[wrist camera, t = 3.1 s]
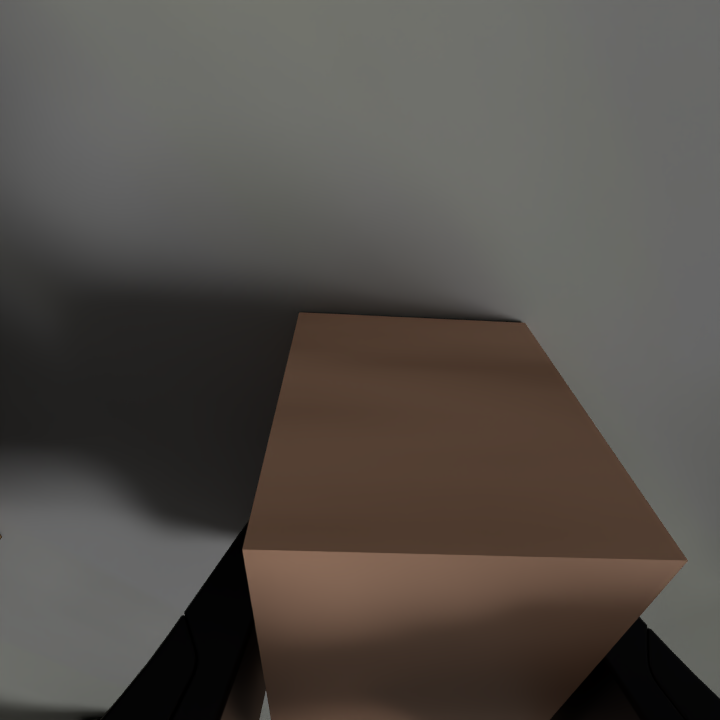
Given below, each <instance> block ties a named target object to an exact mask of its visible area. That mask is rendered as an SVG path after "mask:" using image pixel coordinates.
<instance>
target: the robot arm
mask: <svg viewBox="0 0 720 720" xmlns="http://www.w3.org/2000/svg"><path fill="white" fill-rule="evenodd" d="M248 524H249V520H248V522H247V523H246V525H245V526H244V527H243V529H242V530H241V532H240V533H239V535H238V536H237V537H236V539H235V540H234V542H233V543H232V545H231V546H230V547H229V549H228V550H227V552H226V553H225V555H224V556H223V557H222V559H221V560H220V562H219V563H218V565H217V566H216V567H215V569H214V570H213V572H212V573H211V575H210V576H209V577H208V579H207V580H206V582H205V583H204V585H203V586H202V587H201V589H200V590H199V592H198V593H197V595H196V596H195V597H194V599H193V600H192V602H191V603H190V605H189V606H188V607H187V609H186V610H185V612H184V614H185V616H184V615H182V616H181V617H180V619H179V620H178V621H177V623H176V624H175V626H174V627H173V629H172V630H171V631H170V633H169V634H168V636H167V637H166V638H165V640H164V641H163V642H162V644H161V645H160V646H159V648H158V649H157V650H156V652H155V653H154V655H153V656H152V657H151V659H150V660H149V661H148V663H147V664H146V665H145V666H144V668H143V669H142V670H141V671H140V673H139V674H138V675H137V676H136V677H135V679H134V680H133V681H132V682H131V684H130V685H129V686H128V687H127V689H126V690H125V691H124V692H123V693H122V695H121V696H120V697H119V698H118V699H117V701H116V702H115V703H114V704H113V705H112V706H111V708H110V709H109V710H108V711H107V712H106V714H105V715H104V716H103V717H102V718H101V719H100V720H259V718H260V714H261V709H262V705H263V700H264V696H265V691H266V686H265V680H264V674H263V668H262V663H261V657H260V651H259V645H258V639H257V633H256V627H255V621H254V615H253V610H252V604H251V598H250V592H249V586H248V580H247V574H246V568H245V563H244V557H243V551H242V549H243V544H244V540H245V536H246V532H247V528H248ZM550 720H720V698H719V697H718V696H717V695H716V694H715V693H713V692H712V691H711V690H710V689H709V688H708V687H707V686H706V685H705V684H704V683H703V682H702V681H701V680H700V679H699V678H698V677H697V676H696V675H695V674H694V673H693V672H692V671H691V670H690V669H689V668H688V667H687V666H686V665H685V664H684V663H683V662H682V661H681V660H680V659H679V658H678V657H677V656H676V655H675V654H674V653H673V652H672V651H671V650H670V649H669V648H668V647H667V645H666V644H665V643H664V642H663V641H662V640H661V639H660V638H659V637H658V636H657V635H656V634H655V633H654V632H653V631H652V630H651V629H650V628H648V629H647V625H646V623H645V622H644V621H643V620H642V619H641V618H640V617H638V619H637V620H636V621H635V622H634V623H633V624H632V626H631V627H630V628H629V629H628V630H627V631H626V632H625V634H624V635H623V636H622V637H621V638H620V639H619V641H618V642H617V643H616V644H615V645H614V646H613V647H612V649H611V650H610V651H609V652H608V653H607V654H606V655H605V657H604V658H603V659H602V660H601V661H600V662H599V664H598V665H597V666H596V667H595V668H594V669H593V670H592V672H591V673H590V674H589V675H588V676H587V677H586V679H585V680H584V681H583V682H582V683H581V684H580V685H579V687H578V688H577V689H576V690H575V691H574V692H573V694H572V695H571V696H570V697H569V698H568V699H567V700H566V702H565V703H564V704H563V705H562V706H561V707H560V708H559V710H558V711H557V712H556V713H555V714H554V715H553V717H552V718H551V719H550Z"/></svg>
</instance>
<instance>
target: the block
mask: <svg viewBox="0 0 720 720" xmlns="http://www.w3.org/2000/svg"><path fill="white" fill-rule="evenodd" d="M242 551H243V557H244V563H245V568H246V574H247V580H248V586H249V592H250V598H251V604H252V610H253V615H254V621H255V627H256V633H257V639H258V645H259V651H260V657H261V663H262V668H263V674H264V680H265V686H266V692H267V698H268V704H269V710H270V715H271V720H550V719H551V718H552V717H553V715H554V714H555V713H556V712H557V711H558V710H559V708H560V707H561V706H562V705H563V704H564V703H565V702H566V700H567V699H568V698H569V697H570V696H571V695H572V694H573V692H574V691H575V690H576V689H577V688H578V687H579V685H580V684H581V683H582V682H583V681H584V680H585V679H586V677H587V676H588V675H589V674H590V673H591V672H592V670H593V669H594V668H595V667H596V666H597V665H598V664H599V662H600V661H601V660H602V659H603V658H604V657H605V655H606V654H607V653H608V652H609V651H610V650H611V649H612V647H613V646H614V645H615V644H616V643H617V642H618V641H619V639H620V638H621V637H622V636H623V635H624V634H625V632H626V631H627V630H628V629H629V628H630V627H631V626H632V624H633V623H634V622H635V621H636V620H637V619H638V617H639V616H640V615H641V614H642V613H643V612H644V611H645V609H646V608H647V607H648V606H649V605H650V604H651V603H652V601H653V600H654V599H655V598H656V597H657V596H658V594H659V593H660V592H661V591H662V590H663V589H664V588H665V586H666V585H667V584H668V583H669V582H670V581H671V579H672V578H673V577H674V576H675V575H676V574H677V573H678V571H679V570H680V569H681V568H682V567H683V566H684V564H685V563H686V562H687V561H688V560H687V559H686V557H685V556H684V554H683V553H682V552H681V550H680V549H679V547H678V546H677V544H676V543H675V541H674V540H673V538H672V537H671V535H670V534H669V533H668V531H667V530H666V528H665V527H664V525H663V524H662V522H661V521H660V519H659V518H658V517H657V515H656V514H655V512H654V511H653V509H652V508H651V506H650V505H649V503H648V502H647V500H646V499H645V498H644V496H643V495H642V493H641V492H640V490H639V489H638V487H637V486H636V484H635V483H634V481H633V480H632V479H631V477H630V476H629V474H628V473H627V471H626V470H625V468H624V467H623V465H622V464H621V463H620V461H619V460H618V458H617V457H616V455H615V454H614V452H613V451H612V449H611V448H610V446H609V445H608V444H607V442H606V441H605V439H604V438H603V436H602V435H601V433H600V432H599V430H598V429H597V428H596V426H595V425H594V423H593V422H592V420H591V419H590V417H589V416H588V414H587V413H586V411H585V410H584V409H583V407H582V406H581V404H580V403H579V401H578V400H577V398H576V397H575V395H574V394H573V392H572V391H571V390H570V388H569V387H568V385H567V384H566V382H565V381H564V379H563V378H562V376H561V375H560V374H559V372H558V371H557V369H556V368H555V366H554V365H553V363H552V362H551V360H550V359H549V357H548V356H547V355H546V353H545V352H544V350H543V349H542V347H541V346H540V344H539V343H538V341H537V340H536V339H535V337H534V336H533V334H532V333H531V331H530V330H529V328H528V327H527V325H526V324H525V323H517V322H496V321H475V320H453V319H432V318H411V317H389V316H368V315H347V314H325V313H304V312H299V315H298V319H297V324H296V328H295V332H294V336H293V340H292V344H291V349H290V353H289V357H288V361H287V365H286V369H285V374H284V378H283V382H282V386H281V390H280V394H279V399H278V403H277V407H276V411H275V415H274V419H273V424H272V428H271V432H270V436H269V440H268V444H267V449H266V453H265V457H264V461H263V465H262V469H261V474H260V478H259V482H258V486H257V490H256V494H255V499H254V503H253V507H252V511H251V515H250V519H249V524H248V528H247V532H246V536H245V540H244V544H243V549H242Z"/></svg>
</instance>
